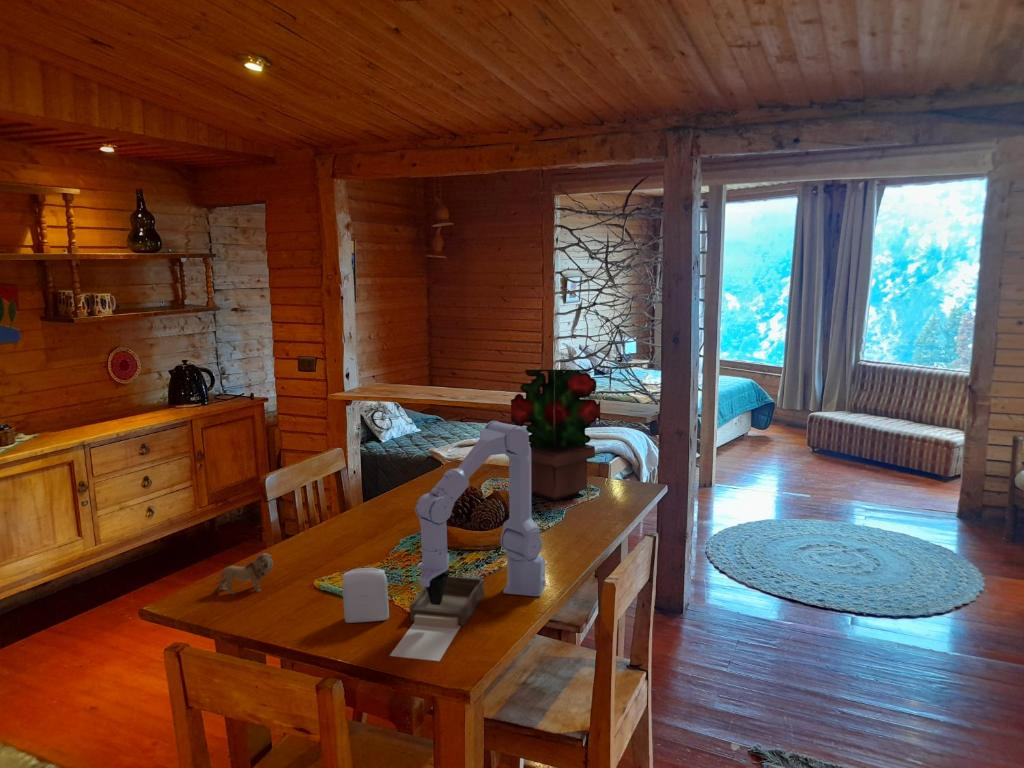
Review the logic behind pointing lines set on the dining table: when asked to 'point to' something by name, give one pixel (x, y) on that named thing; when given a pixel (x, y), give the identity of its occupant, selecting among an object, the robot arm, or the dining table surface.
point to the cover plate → (427, 637)
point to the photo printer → (365, 595)
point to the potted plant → (557, 430)
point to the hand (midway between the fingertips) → (436, 603)
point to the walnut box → (452, 599)
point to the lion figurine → (247, 573)
